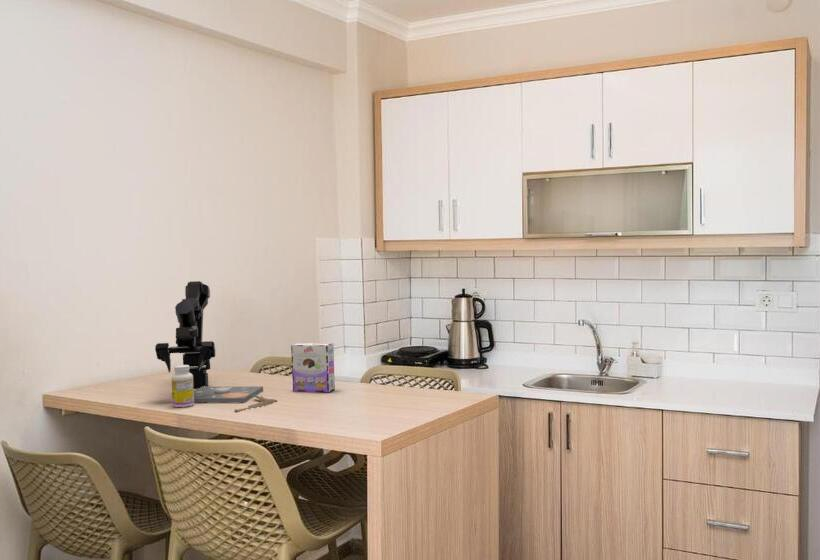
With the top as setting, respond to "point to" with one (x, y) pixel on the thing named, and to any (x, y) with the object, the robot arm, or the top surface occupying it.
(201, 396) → the dial board
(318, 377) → the candy box
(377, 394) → the top surface
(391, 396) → the top surface
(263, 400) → the brown flat branched piece
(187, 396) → the supplement bottle
